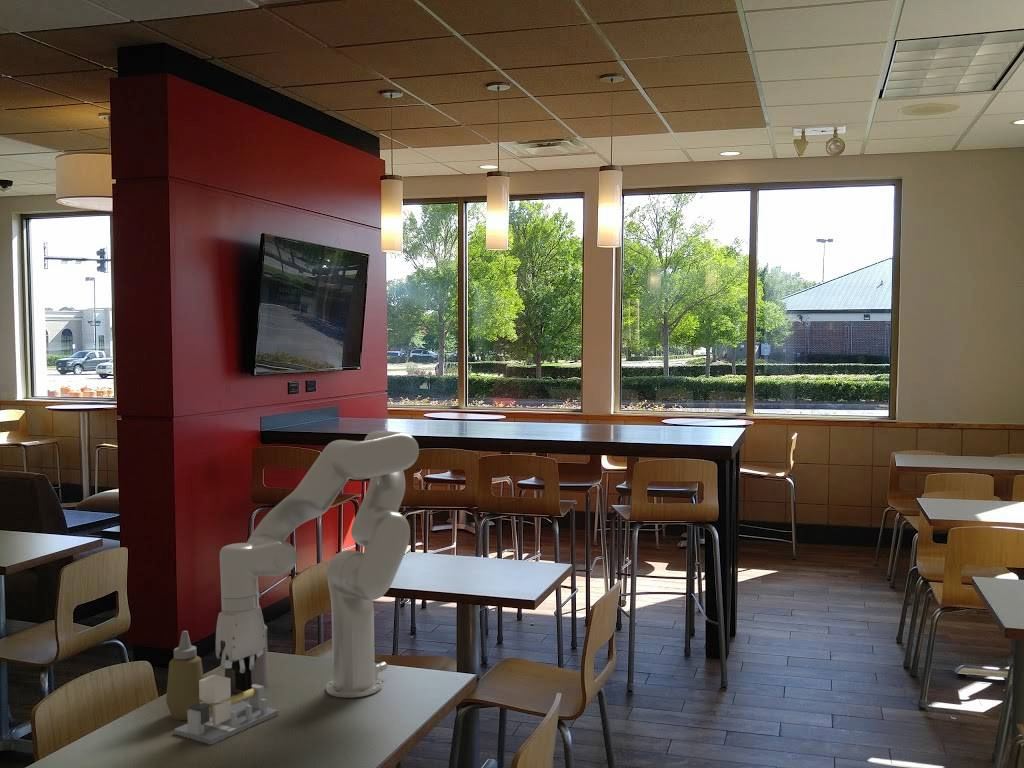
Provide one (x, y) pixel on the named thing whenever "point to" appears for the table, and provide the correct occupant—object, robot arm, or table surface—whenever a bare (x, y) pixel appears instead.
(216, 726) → the gray assembly board
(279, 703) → the table surface
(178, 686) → the squeeze bottle
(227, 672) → the pillar candle
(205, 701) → the white block
